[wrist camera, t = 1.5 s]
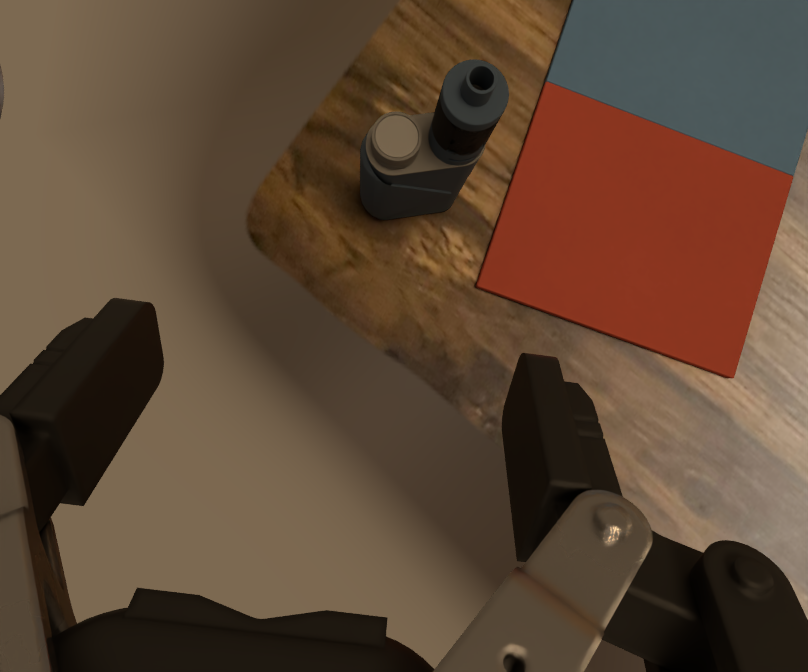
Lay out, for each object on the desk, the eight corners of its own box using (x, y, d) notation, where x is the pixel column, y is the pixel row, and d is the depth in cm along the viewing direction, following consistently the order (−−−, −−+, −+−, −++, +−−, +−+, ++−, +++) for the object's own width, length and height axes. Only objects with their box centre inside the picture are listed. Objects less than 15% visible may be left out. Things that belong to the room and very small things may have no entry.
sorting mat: (474, 287, 30) (476, 286, 30) (607, -105, 32) (611, -113, 32) (728, 378, 31) (734, 378, 31) (843, -10, 33) (850, -15, 33)
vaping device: (460, 212, 30) (525, 111, 19) (364, 225, 30) (367, 131, 18) (452, 165, 31) (512, 36, 19) (356, 178, 30) (355, 53, 18)
